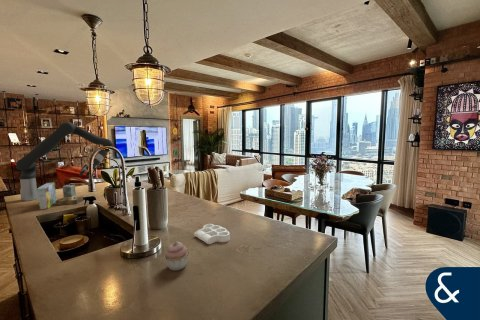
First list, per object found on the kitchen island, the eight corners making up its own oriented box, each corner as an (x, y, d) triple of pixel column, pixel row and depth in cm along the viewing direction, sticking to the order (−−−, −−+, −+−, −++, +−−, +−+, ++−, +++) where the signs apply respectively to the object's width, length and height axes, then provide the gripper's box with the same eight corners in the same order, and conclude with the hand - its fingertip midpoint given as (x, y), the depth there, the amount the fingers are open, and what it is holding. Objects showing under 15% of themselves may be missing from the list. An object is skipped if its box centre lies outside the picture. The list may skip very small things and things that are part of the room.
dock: (56, 205, 172) (55, 200, 171) (64, 201, 182) (63, 197, 181) (77, 203, 174) (76, 199, 173) (83, 200, 184) (83, 196, 183)
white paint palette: (190, 235, 116) (215, 227, 126) (211, 248, 103) (236, 238, 112) (190, 229, 116) (215, 221, 125) (210, 241, 102) (236, 231, 112)
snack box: (48, 202, 180) (46, 182, 178) (57, 201, 182) (55, 182, 181) (38, 210, 161) (35, 188, 159) (48, 208, 163) (46, 187, 162)
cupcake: (159, 266, 88) (158, 241, 87) (181, 257, 95) (180, 233, 94) (172, 277, 82) (170, 249, 81) (194, 266, 88) (193, 240, 87)
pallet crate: (63, 199, 174) (62, 186, 173) (68, 197, 180) (66, 185, 179) (72, 199, 175) (70, 186, 174) (76, 197, 181) (75, 184, 180)
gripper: (87, 156, 195) (73, 172, 186) (98, 157, 188) (84, 173, 179) (94, 162, 200) (81, 177, 191) (105, 162, 194) (92, 179, 185)
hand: (83, 175), depth 185 cm, fingers open, 8 cm apart
